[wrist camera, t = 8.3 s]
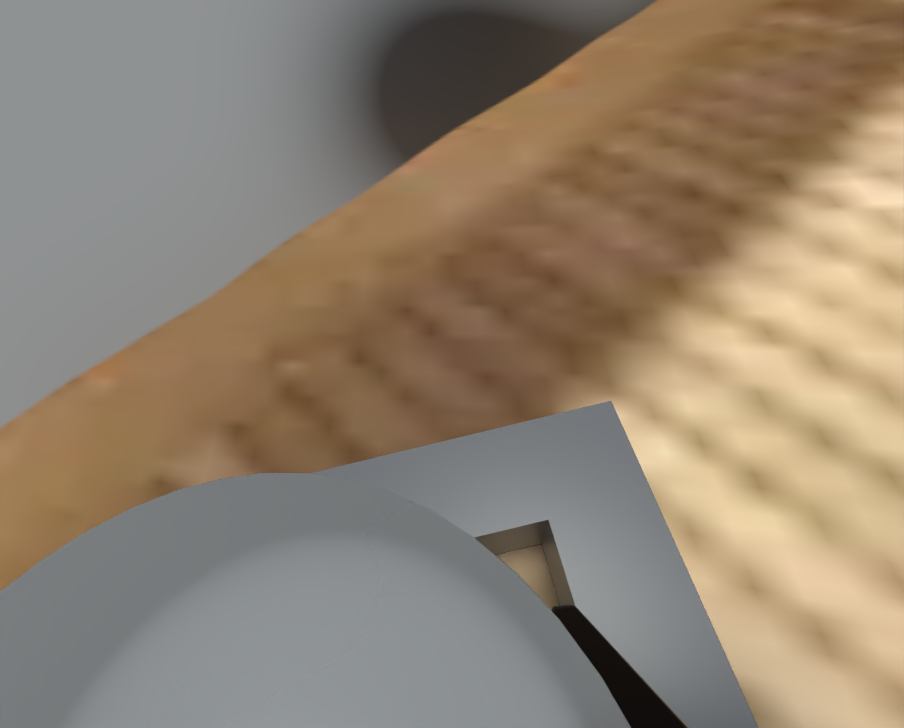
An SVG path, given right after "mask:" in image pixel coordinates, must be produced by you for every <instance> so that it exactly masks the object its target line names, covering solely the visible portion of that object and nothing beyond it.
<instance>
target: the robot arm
mask: <svg viewBox="0 0 904 728" xmlns="http://www.w3.org/2000/svg"><path fill="white" fill-rule="evenodd" d="M552 612H553V613H554V614H555V615H556V616H557V617H558V619H559V620H560V621H561V623H562V624H563V625H564V627H565V628H566V629H567V631H568V632H569V633H570V635H571V636H572V638H573V639H574V640H575V642H576V643H577V644H578V646H579V647H580V648H581V650H582V651H583V653H584V654H585V655H586V657H587V658H588V659H589V661H590V662H591V663H592V665H593V666H594V667H595V669H596V670H597V672H598V673H599V674H600V676H601V677H602V679H603V680H604V682H605V684H606V686H607V687H608V689H609V691H610V692H611V694H612V696H613V698H614V699H615V701H616V703H617V704H618V706H619V708H620V710H621V711H622V713H623V715H624V716H625V718H626V720H627V722H628V723H629V725H630V727H631V728H688V727H687V726H686V725H685V724H684V723H683V722H682V720H681V719H680V718H679V717H678V716H677V715H676V714H675V713H674V712H673V711H672V710H671V709H670V707H669V706H668V705H667V704H666V703H665V702H664V701H663V700H662V699H661V698H660V697H659V696H658V695H657V693H656V692H655V691H654V690H653V689H652V688H651V687H650V686H649V685H648V684H647V683H646V682H645V680H644V679H643V678H642V677H641V676H640V675H639V674H638V673H637V672H636V671H635V670H634V669H633V668H632V666H631V665H630V664H629V663H628V662H627V661H626V660H625V659H624V658H623V657H622V656H621V655H620V654H619V652H618V651H617V650H616V649H615V648H614V647H613V646H612V645H611V644H610V643H609V642H608V641H607V639H606V638H605V637H604V636H603V635H602V634H601V633H600V632H599V631H598V630H597V629H596V628H595V627H594V625H593V624H592V623H591V622H590V621H589V620H588V619H587V618H586V617H585V616H584V615H583V614H582V613H581V611H580V610H579V609H578V608H577V607H576V606H574V605H563V606H555V607H553V608H552Z"/></svg>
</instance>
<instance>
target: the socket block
mask: <svg viewBox="0 0 904 728" xmlns="http://www.w3.org/2000/svg"><path fill="white" fill-rule="evenodd" d="M310 474H314V475H322V476H329V477H336V478H343V479H349V480H352V481H356V482H359V483H362V484H366V485H369V486H373V487H376V488H380V489H383V490H387V491H390V492H392V493H394V494H396V495H399V496H401V497H403V498H405V499H407V500H410V501H412V502H414V503H416V504H418V505H421V506H423V507H425V508H427V509H429V510H432V511H433V512H435V513H436V514H438V515H440V516H441V517H443V518H444V519H446V520H447V521H449V522H451V523H452V524H454V525H455V526H457V527H458V528H460V529H462V530H463V531H465V532H466V533H468V534H469V535H471V536H473V537H474V538H475V539H476V540H478V541H479V542H480V543H481V544H482V545H484V546H485V547H486V548H487V549H488V550H490V551H491V552H492V553H493V554H494V555H497V554H502V553H506V552H510V551H514V550H518V549H522V548H526V547H531V546H535V545H539V544H542V546H543V550H544V553H545V557H546V560H547V563H548V567H549V570H550V574H551V577H552V580H553V584H554V587H555V591H556V594H557V597H558V601H559V604H560V606H563V605H574V606H576V607H577V608H578V609H579V610H580V611H581V613H582V614H583V615H584V616H585V617H586V618H587V619H588V620H589V621H590V622H591V623H592V624H593V625H594V627H595V628H596V629H597V630H598V631H599V632H600V633H601V634H602V635H603V636H604V637H605V638H606V639H607V641H608V642H609V643H610V644H611V645H612V646H613V647H614V648H615V649H616V650H617V651H618V652H619V654H620V655H621V656H622V657H623V658H624V659H625V660H626V661H627V662H628V663H629V664H630V665H631V666H632V668H633V669H634V670H635V671H636V672H637V673H638V674H639V675H640V676H641V677H642V678H643V679H644V680H645V682H646V683H647V684H648V685H649V686H650V687H651V688H652V689H653V690H654V691H655V692H656V693H657V695H658V696H659V697H660V698H661V699H662V700H663V701H664V702H665V703H666V704H667V705H668V706H669V707H670V709H671V710H672V711H673V712H674V713H675V714H676V715H677V716H678V717H679V718H680V719H681V720H682V722H683V723H684V724H685V725H686V726H687V727H688V728H758V726H757V723H756V721H755V719H754V717H753V715H752V712H751V710H750V708H749V706H748V703H747V701H746V699H745V697H744V695H743V692H742V690H741V688H740V686H739V683H738V681H737V679H736V677H735V675H734V672H733V670H732V668H731V666H730V664H729V661H728V659H727V657H726V655H725V652H724V650H723V648H722V646H721V644H720V641H719V639H718V637H717V635H716V632H715V630H714V628H713V626H712V624H711V621H710V619H709V617H708V615H707V613H706V610H705V608H704V606H703V604H702V601H701V599H700V597H699V595H698V593H697V590H696V588H695V586H694V584H693V581H692V579H691V577H690V575H689V573H688V570H687V568H686V566H685V564H684V562H683V559H682V557H681V555H680V553H679V550H678V548H677V546H676V544H675V542H674V539H673V537H672V535H671V533H670V530H669V528H668V526H667V524H666V522H665V519H664V517H663V515H662V513H661V511H660V508H659V506H658V504H657V502H656V499H655V497H654V495H653V493H652V491H651V488H650V486H649V484H648V482H647V479H646V477H645V475H644V473H643V471H642V468H641V466H640V464H639V462H638V460H637V457H636V455H635V453H634V451H633V448H632V446H631V444H630V442H629V440H628V437H627V435H626V433H625V431H624V428H623V426H622V424H621V422H620V420H619V417H618V415H617V413H616V411H615V409H614V406H613V404H612V402H611V401H608V402H604V403H600V404H596V405H592V406H588V407H583V408H579V409H575V410H571V411H567V412H563V413H559V414H554V415H550V416H546V417H542V418H538V419H534V420H530V421H525V422H521V423H517V424H513V425H509V426H505V427H501V428H496V429H492V430H488V431H484V432H480V433H476V434H472V435H467V436H463V437H459V438H455V439H451V440H447V441H443V442H438V443H434V444H430V445H426V446H422V447H418V448H414V449H409V450H405V451H401V452H397V453H393V454H389V455H385V456H380V457H376V458H372V459H368V460H364V461H360V462H356V463H351V464H347V465H343V466H339V467H335V468H331V469H327V470H323V471H318V472H314V473H310Z"/></svg>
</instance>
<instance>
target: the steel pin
mask: <svg viewBox="0 0 904 728" xmlns="http://www.w3.org/2000/svg"><path fill="white" fill-rule="evenodd" d="M0 728H631V727H630V725H629V723H628V722H627V720H626V718H625V716H624V715H623V713H622V711H621V710H620V708H619V706H618V704H617V703H616V701H615V699H614V698H613V696H612V694H611V692H610V691H609V689H608V687H607V686H606V684H605V682H604V680H603V679H602V677H601V676H600V674H599V673H598V672H597V670H596V669H595V667H594V666H593V665H592V663H591V662H590V661H589V659H588V658H587V657H586V655H585V654H584V653H583V651H582V650H581V648H580V647H579V646H578V644H577V643H576V642H575V640H574V639H573V638H572V636H571V635H570V633H569V632H568V631H567V629H566V628H565V627H564V625H563V624H562V623H561V621H560V620H559V619H558V617H557V616H556V615H555V614H554V613H553V612H552V611H551V610H550V609H549V608H548V607H547V606H546V605H545V603H544V602H543V601H542V600H541V599H540V598H539V597H538V596H537V595H536V594H535V593H534V592H533V591H532V589H531V588H530V587H529V586H528V585H527V584H526V583H525V582H524V581H523V580H522V579H521V578H520V576H519V575H518V574H517V573H516V572H514V571H513V570H512V569H511V568H510V567H509V566H507V565H506V564H505V563H504V562H503V561H501V560H500V559H499V558H498V557H497V556H495V555H494V554H493V553H492V552H491V551H490V550H488V549H487V548H486V547H485V546H484V545H482V544H481V543H480V542H479V541H478V540H476V539H475V538H474V537H473V536H471V535H469V534H468V533H466V532H465V531H463V530H462V529H460V528H458V527H457V526H455V525H454V524H452V523H451V522H449V521H447V520H446V519H444V518H443V517H441V516H440V515H438V514H436V513H435V512H433V511H432V510H429V509H427V508H425V507H423V506H421V505H418V504H416V503H414V502H412V501H410V500H407V499H405V498H403V497H401V496H399V495H396V494H394V493H392V492H390V491H387V490H383V489H380V488H376V487H373V486H369V485H366V484H362V483H359V482H356V481H352V480H349V479H343V478H336V477H329V476H322V475H314V474H307V473H261V474H253V475H246V476H239V477H231V478H224V479H218V480H214V481H211V482H207V483H203V484H199V485H195V486H192V487H188V488H184V489H180V490H176V491H174V492H171V493H169V494H166V495H164V496H161V497H159V498H156V499H153V500H151V501H148V502H146V503H143V504H141V505H138V506H135V507H133V508H131V509H129V510H127V511H125V512H123V513H121V514H119V515H117V516H115V517H113V518H111V519H109V520H107V521H105V522H104V523H102V524H100V525H98V526H96V527H94V528H92V529H90V530H88V531H86V532H85V533H83V534H82V535H80V536H79V537H77V538H75V539H74V540H72V541H71V542H69V543H68V544H66V545H64V546H63V547H61V548H60V549H58V550H57V551H55V552H53V553H52V554H50V555H49V556H47V557H46V558H44V559H42V560H41V561H40V562H38V563H37V564H36V565H34V566H33V567H32V568H31V569H29V570H28V571H27V572H25V573H24V574H23V575H21V576H20V577H19V578H17V579H16V580H15V581H14V582H12V583H11V584H10V585H8V586H7V587H6V588H4V589H3V590H2V591H0Z"/></svg>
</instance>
